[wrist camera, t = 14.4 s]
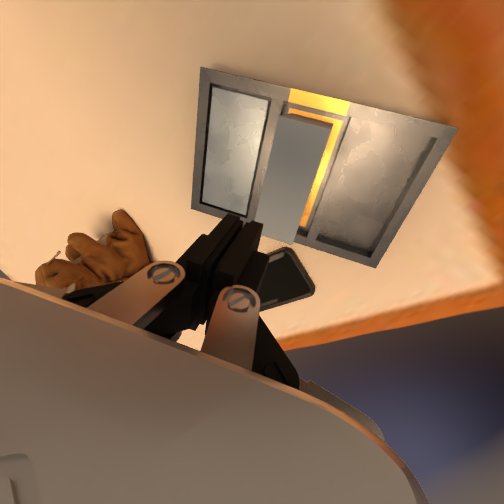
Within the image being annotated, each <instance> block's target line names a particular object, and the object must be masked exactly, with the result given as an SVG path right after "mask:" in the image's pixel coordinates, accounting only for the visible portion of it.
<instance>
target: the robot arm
mask: <svg viewBox="0 0 504 504" xmlns="http://www.w3.org/2000/svg"><path fill="white" fill-rule="evenodd" d="M262 229H263V223H259V222H256V221H253V220H252V221H251V222H250V223H249V222H246V223H245V225H244V226H243V221H242V220H240V216H236V215H233V214H230V213H228V214H227V215H226V216H225V217H224V218H223V219H222V220H221V221H220V223H219V224H218V225H217V226H216V227H215V228H214V229H213V231H212V232H211V233H210V234H209V235H205V234H202V235H201V236H200V237H199V238H198V239H197V240H196V241H195V242H194V243H193V244H192V245H191V246H190V247H189V248H188V250H187V251H186V252H185V253H184V254H183V255H182V256H181V257H180V258H179V259H178V260H177V261H176V262H172V261H158V262H154V263H152V264H150V265H148V266H146V267H145V268H143V269H142V270H140V271H139V272H138V273H136V274H135V275H133V276H132V277H130V278H129V279H128V280H126V281H122V282H116V283H111V284H106V285H100V286H95V287H89V288H84V289H80V290H76V291H73V292H71V293H69V290H66V289H60V288H53V287H47V286H40V285H33V284H27V283H20V282H13V281H10V280H6V279H3V278H0V504H429V501H428V499H427V497H426V495H425V493H424V491H423V489H422V487H421V485H420V484H419V482H418V480H417V479H416V477H415V476H414V474H413V473H412V471H411V470H410V469H409V468H408V466H407V465H406V464H405V463H404V461H403V460H402V459H401V458H400V457H399V456H398V455H397V454H396V453H395V452H394V451H393V450H392V449H391V448H390V447H389V446H388V445H387V444H386V443H385V439H384V437H383V435H382V432H381V430H380V429H379V428H378V426H377V425H376V423H375V422H374V421H372V419H370V418H369V417H368V416H367V415H365V414H363V413H362V412H360V411H359V410H357V409H355V408H354V407H352V406H351V405H349V404H348V403H346V402H344V401H343V400H341V399H339V398H337V397H336V396H335V395H333V394H331V393H330V392H328V391H327V390H325V389H323V388H322V387H320V386H319V385H317V384H315V383H314V382H312V381H310V380H309V381H308V382H306V381H304V380H303V379H301V378H300V377H299V376H298V374H297V371H296V369H295V368H294V366H293V365H292V363H291V362H290V360H289V359H288V357H287V356H286V354H285V353H284V351H283V350H282V348H281V347H280V345H279V344H278V342H277V341H276V339H275V338H274V336H273V335H272V333H271V332H270V330H269V329H268V327H267V326H266V324H265V323H264V321H263V320H262V319H261V317H260V316H259V310H260V299H259V297H258V293H259V290H260V288H261V285H262V282H263V279H264V276H265V273H266V270H267V266H268V263H269V259H270V255H267V254H264V253H261V252H258V251H257V250H258V246H259V242H260V238H261V233H262ZM206 320H207V322H206ZM205 322H206V329H205V339H204V342H203V345H202V348H201V351H198V350H195V349H193V348H190V347H188V346H185V345H182V344H180V343H177V342H176V341H177V340H178V339H179V337H180V336H181V334H182V331H183V330H186V329H192V330H194V331H196V329H197V327H198V325H199V324H202V325H203V324H204V323H205Z"/></svg>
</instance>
